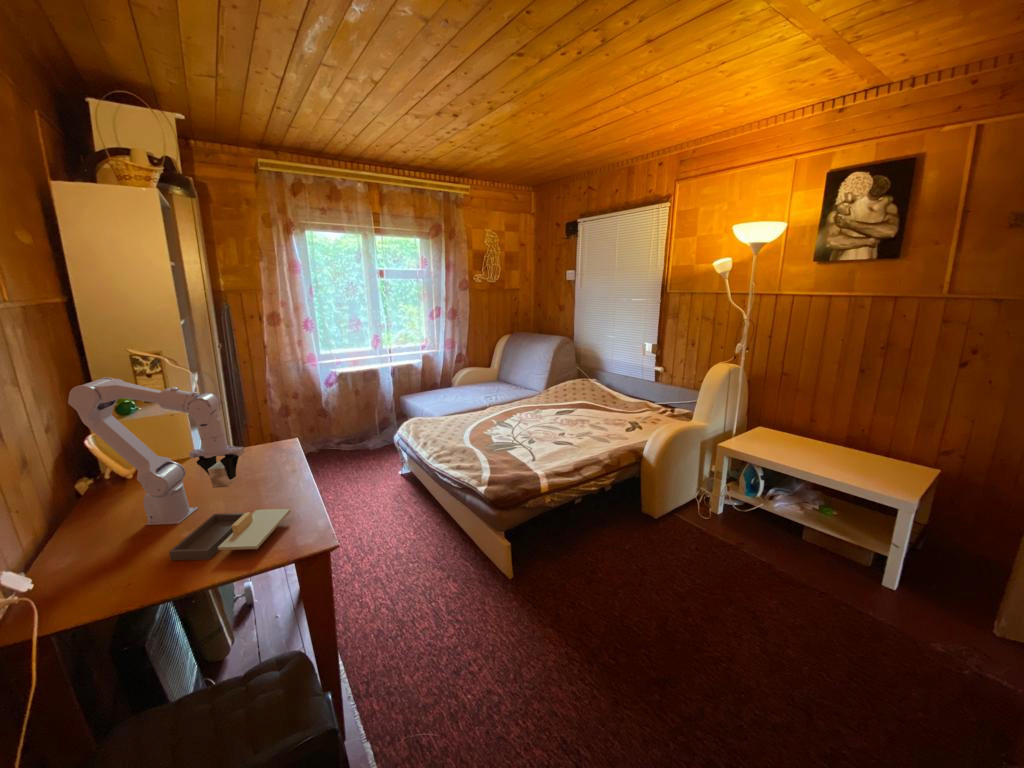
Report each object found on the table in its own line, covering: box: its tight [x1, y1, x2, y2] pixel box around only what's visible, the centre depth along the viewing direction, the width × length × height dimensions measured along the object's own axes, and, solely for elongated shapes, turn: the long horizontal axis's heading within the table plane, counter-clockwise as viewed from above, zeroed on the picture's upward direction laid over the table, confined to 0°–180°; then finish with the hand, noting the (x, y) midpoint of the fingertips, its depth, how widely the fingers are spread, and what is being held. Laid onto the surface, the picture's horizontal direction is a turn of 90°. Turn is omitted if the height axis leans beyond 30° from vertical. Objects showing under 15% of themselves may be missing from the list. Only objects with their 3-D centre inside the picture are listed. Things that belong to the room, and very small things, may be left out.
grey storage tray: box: [168, 512, 245, 561], centre depth 112 cm, size 10×17×2 cm, turn 0°
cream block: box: [208, 461, 239, 489], centre depth 123 cm, size 4×4×6 cm
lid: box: [218, 508, 291, 551], centre depth 111 cm, size 10×17×3 cm, turn 0°
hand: (224, 478), depth 124 cm, fingers closed on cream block, 4 cm apart
